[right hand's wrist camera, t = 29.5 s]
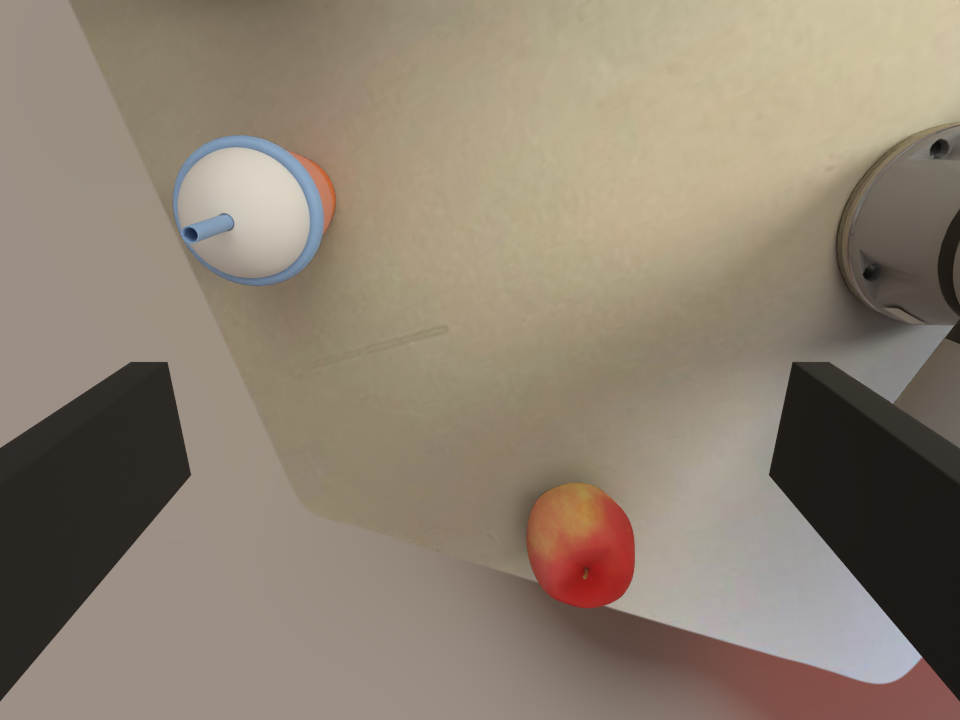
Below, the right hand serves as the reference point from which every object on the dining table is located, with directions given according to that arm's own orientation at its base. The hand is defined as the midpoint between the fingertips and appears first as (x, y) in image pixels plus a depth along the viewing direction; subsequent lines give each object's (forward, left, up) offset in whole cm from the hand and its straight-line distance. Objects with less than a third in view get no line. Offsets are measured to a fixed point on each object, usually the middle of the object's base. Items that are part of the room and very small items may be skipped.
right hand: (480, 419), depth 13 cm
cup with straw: (+3, -14, -36) cm, 39 cm away
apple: (+24, +16, -36) cm, 46 cm away
